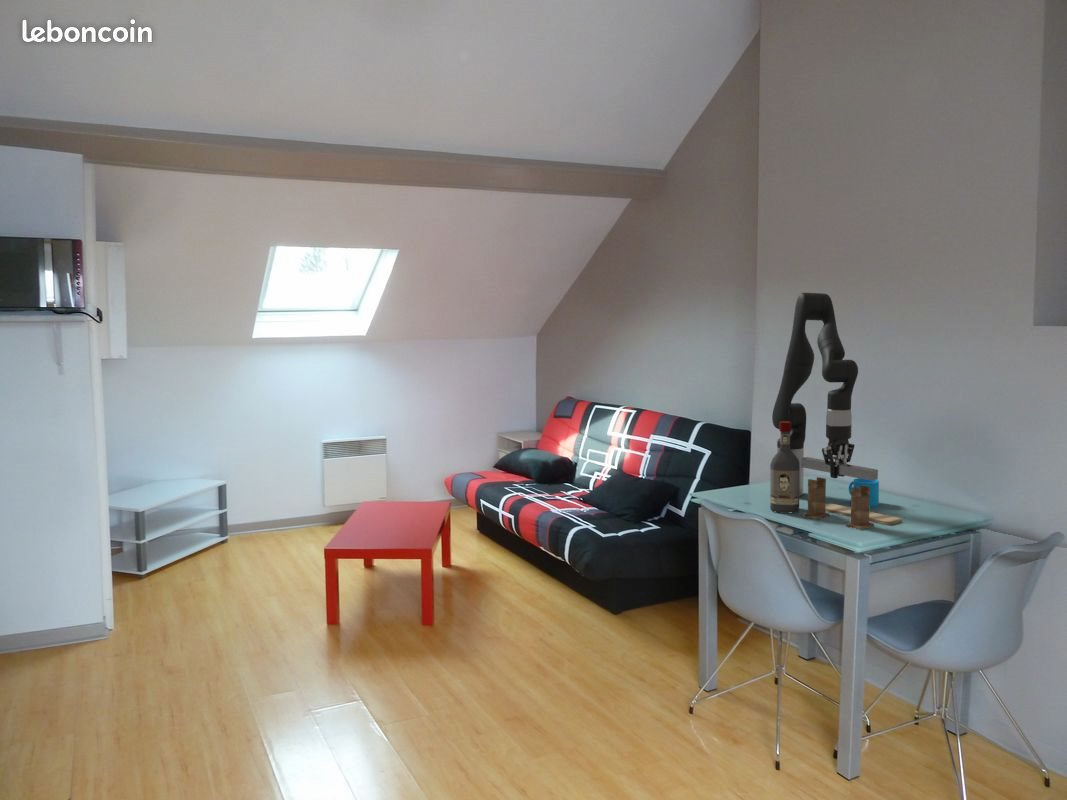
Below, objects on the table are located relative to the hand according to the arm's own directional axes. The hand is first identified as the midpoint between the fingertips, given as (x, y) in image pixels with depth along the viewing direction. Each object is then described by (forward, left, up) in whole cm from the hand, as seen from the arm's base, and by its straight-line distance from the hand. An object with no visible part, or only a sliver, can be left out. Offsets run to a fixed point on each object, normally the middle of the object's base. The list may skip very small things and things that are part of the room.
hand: (837, 476), depth 261 cm
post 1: (-8, 0, -14) cm, 16 cm away
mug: (-10, +27, -15) cm, 32 cm away
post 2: (+8, 0, -14) cm, 17 cm away
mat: (0, +11, -14) cm, 18 cm away
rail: (0, 0, +1) cm, 1 cm away
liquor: (-20, -1, -15) cm, 25 cm away
